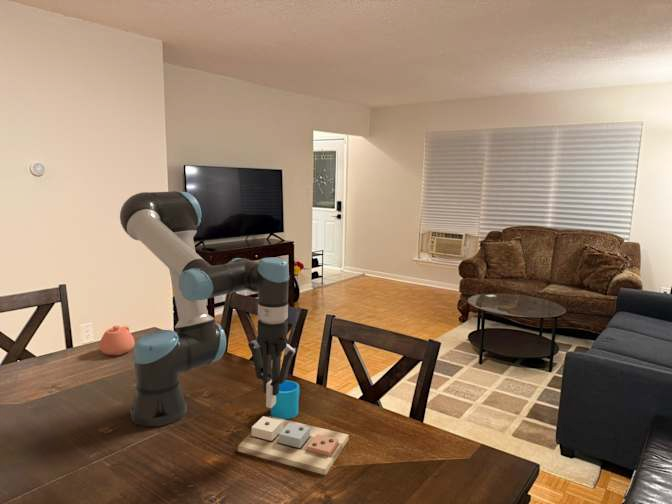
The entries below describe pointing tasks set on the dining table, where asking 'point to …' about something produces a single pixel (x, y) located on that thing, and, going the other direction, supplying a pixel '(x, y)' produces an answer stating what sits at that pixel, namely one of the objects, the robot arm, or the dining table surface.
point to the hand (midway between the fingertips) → (271, 405)
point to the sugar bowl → (116, 341)
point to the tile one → (267, 428)
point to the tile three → (323, 445)
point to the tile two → (294, 435)
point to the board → (295, 450)
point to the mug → (286, 400)
